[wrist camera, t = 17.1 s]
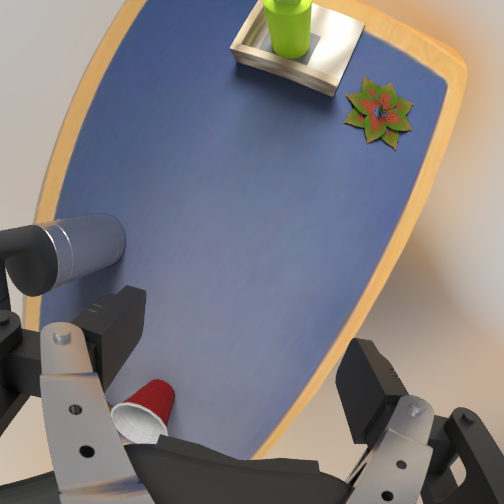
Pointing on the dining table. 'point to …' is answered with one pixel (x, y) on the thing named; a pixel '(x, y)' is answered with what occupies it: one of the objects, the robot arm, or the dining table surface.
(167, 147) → the dining table surface
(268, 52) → the corner arena
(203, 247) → the dining table surface
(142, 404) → the plastic cup
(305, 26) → the soap dispenser
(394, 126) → the lily flower
